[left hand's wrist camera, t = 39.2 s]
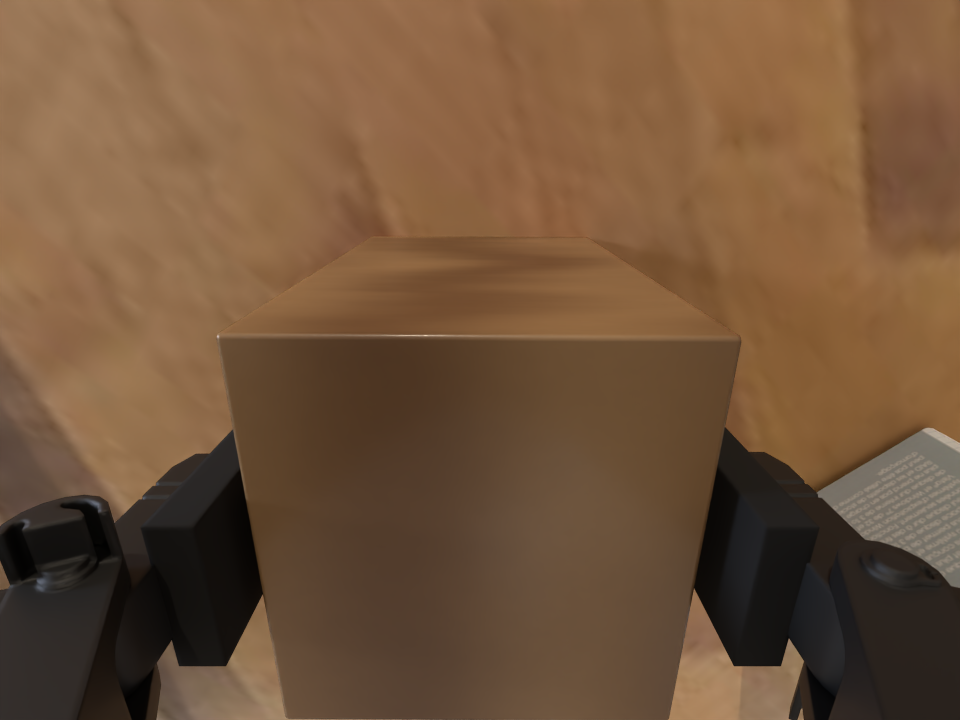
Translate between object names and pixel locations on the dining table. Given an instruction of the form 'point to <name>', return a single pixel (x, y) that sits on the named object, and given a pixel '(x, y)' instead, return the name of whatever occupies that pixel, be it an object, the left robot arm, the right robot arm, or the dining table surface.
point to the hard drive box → (908, 500)
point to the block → (478, 478)
